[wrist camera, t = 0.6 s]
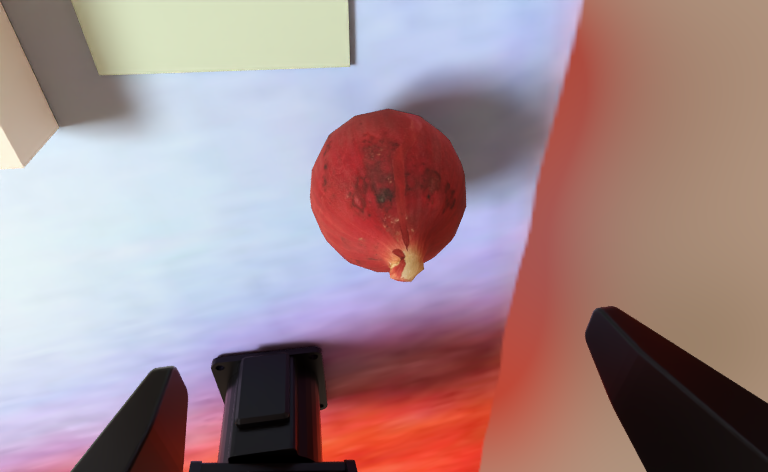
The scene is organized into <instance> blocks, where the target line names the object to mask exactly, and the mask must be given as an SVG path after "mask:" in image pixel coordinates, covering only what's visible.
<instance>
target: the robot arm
mask: <svg viewBox="0 0 768 472" xmlns="http://www.w3.org/2000/svg"><path fill="white" fill-rule="evenodd" d="M585 338H586V342H587V345H588V348H589V350H590V353H591V355H592V358H593V360H594V363H595V365H596V368H597V370H598V372H599V375H600V377H601V380H602V383H603V385H604V388H605V390H606V393H607V395H608V397H609V400H610V402H611V404H612V406H613V408H614V410H615V412H616V414H617V416H618V418H619V420H620V422H621V424H622V426H623V427H624V429H625V431H626V433H627V435H628V437H629V439H630V441H631V443H632V444H633V446H634V448H635V450H636V452H637V454H638V456H639V458H640V460H641V462H642V463H643V465H644V467H645V469H646V471H647V472H768V403H766V402H765V401H763V400H762V399H760V398H758V397H757V396H755V395H754V394H752V393H751V392H749V391H747V390H746V389H744V388H743V387H741V386H740V385H738V384H736V383H735V382H733V381H732V380H730V379H729V378H727V377H725V376H724V375H722V374H721V373H719V372H717V371H716V370H714V369H713V368H711V367H710V366H708V365H707V364H705V363H703V362H702V361H700V360H699V359H697V358H695V357H694V356H692V355H691V354H689V353H687V352H686V351H684V350H683V349H681V348H680V347H678V346H676V345H675V344H674V343H672V342H670V341H669V340H667V339H666V338H664V337H663V336H661V335H659V334H658V333H656V332H655V331H653V330H652V329H650V328H648V327H647V326H645V325H644V324H642V323H640V322H639V321H637V320H636V319H634V318H633V317H631V316H629V315H628V314H626V313H625V312H623V311H622V310H620V309H618V308H616V307H613V306H608V307H601V308H596V309H595V310H594V311H593V314H592V316H591V319H590V322H589V324H588V326H587V329H586V332H585ZM211 370H212V372H213V375H214V378H215V380H216V383H217V386H218V388H219V391H220V394H221V396H222V399H223V402H224V404H225V406H224V414H223V422H222V430H221V438H220V446H219V454H218V462H217V463H202V461H191V464H190V469H189V472H357V468H356V464H355V460H344V462H322V442H321V421H320V410H323V409H325V408H326V407H327V395H326V386H325V376H324V367H323V358H322V350H321V349H320V348H319V347H306V348H297V349H288V350H279V351H270V352H261V353H252V354H243V355H235V356H226V357H218V358H215V359H213V361H212V365H211ZM187 407H188V393H187V389H186V386H185V384H184V382H183V380H182V378H181V376H180V374H179V372H178V370H177V368H176V367H174V366H166V367H159V368H155V369H153V370H151V371H150V372H149V374H148V375H147V376H146V377H145V379H144V380H143V381H142V382H141V384H140V385H139V386H138V387H137V389H136V390H135V391H134V392H133V394H132V395H131V396H130V398H129V399H128V400H127V401H126V403H125V404H124V405H123V406H122V408H121V409H120V410H119V411H118V413H117V414H116V415H115V416H114V418H113V419H112V420H111V421H110V423H109V424H108V425H107V426H106V428H105V429H104V430H103V432H102V433H101V434H100V435H99V437H98V438H97V439H96V440H95V442H94V443H93V444H92V445H91V447H90V448H89V449H88V450H87V452H86V453H85V454H84V455H83V457H82V458H81V459H80V460H79V462H78V463H77V464H76V465H75V467H74V468H73V469H72V471H71V472H183V464H184V450H185V436H186V421H187Z"/></svg>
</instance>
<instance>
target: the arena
mask: <svg viewBox="0 0 768 472" xmlns="http://www.w3.org/2000/svg"><path fill="white" fill-rule="evenodd" d="M71 2H72V5H73V7H74V10H75V12H76V15H77V18H78V20H79V23H80V26H81V28H82V31H83V34H84V36H85V39H86V42H87V44H88V47H89V50H90V52H91V55H92V58H93V60H94V63H95V66H96V68H97V71H98V74H99V75H127V74H156V73H185V72H214V71H242V70H271V69H300V68H329V67H350V51H349V17H348V0H71ZM58 129H59V126H58V124H57V122H56V120H55V118H54V116H53V114H52V111H51V109H50V107H49V105H48V103H47V101H46V99H45V96H44V94H43V92H42V90H41V88H40V86H39V83H38V81H37V79H36V77H35V75H34V73H33V71H32V68H31V66H30V64H29V62H28V60H27V58H26V56H25V53H24V51H23V49H22V47H21V45H20V43H19V41H18V38H17V36H16V34H15V32H14V30H13V28H12V26H11V23H10V21H9V19H8V17H7V15H6V13H5V11H4V8H3V6H2V4H1V2H0V169H14V168H24V167H25V166H26V165H27V164H28V163H29V161H30V160H31V159H32V158H33V157H34V156H35V155H36V154H37V152H38V151H39V150H40V149H41V148H42V147H43V146H44V144H45V143H46V142H47V141H48V140H49V139H50V138H51V136H52V135H53V134H54V133H55V132H56V131H57V130H58Z"/></svg>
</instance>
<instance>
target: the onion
mask: <svg viewBox="0 0 768 472" xmlns="http://www.w3.org/2000/svg"><path fill="white" fill-rule="evenodd" d="M310 200H311V208H312V211H313V213H314V216H315V218H316V220H317V223H318V225H319V227H320V230H321V232H322V234H323V235H324V237H325V239H326V240H327V242H328V243H329V244H330V245H331V246H332V247H333V248H334V249H335V250H336V251H337V252H338V253H339V254H340V255H341V256H342V257H343V258H344V259H345V260H347V261H348V262H350V263H351V264H354V265H357V266H360V267H363V268H367V269H370V270H373V271H376V272H389V273H390V278H392V279H394V280H397V281H403V282H411V281H412V280H413V279H414V278H415V276H416V275H417V274H419V273H420V272H421V271H422V270H424V265H423V263H425V262H427V261H428V260H430V259H432V258H433V257H435V256H436V255H437V254H438V253H439V252H440V251H441V250H442V249H443V248H444V247H445V246H446V245H447V244H448V243H449V242H450V241H451V240H452V239H453V237H454V236H455V234H456V232H457V229H458V227H459V224H460V222H461V219H462V217H463V214H464V211H465V208H466V189H465V174H464V171H463V167H462V164H461V162H460V160H459V158H458V156H457V154H456V152H455V150H454V148H453V146H452V144H451V142H450V140H449V139H448V138H447V137H446V136H445V135H444V134H443V133H442V132H440V131H439V130H438V129H436V128H435V127H434V126H432V125H431V124H430V123H428V122H427V121H425V120H424V119H423V118H421V117H420V116H418V115H414V114H409V113H405V112H400V111H396V110H392V109H384V110H380V111H375V112H371V113H366V114H361V115H357V116H354V117H353V118H351V119H350V120H349V121H347V122H346V123H345V124H343V125H342V126H340V127H339V128H338V129H336V130H335V131H334V132H332V133H331V134H330V135H329V136H328V138H327V140H326V142H325V144H324V146H323V148H322V150H321V152H320V154H319V156H318V158H317V160H316V162H315V164H314V167H313V169H312V176H311V191H310Z"/></svg>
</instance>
